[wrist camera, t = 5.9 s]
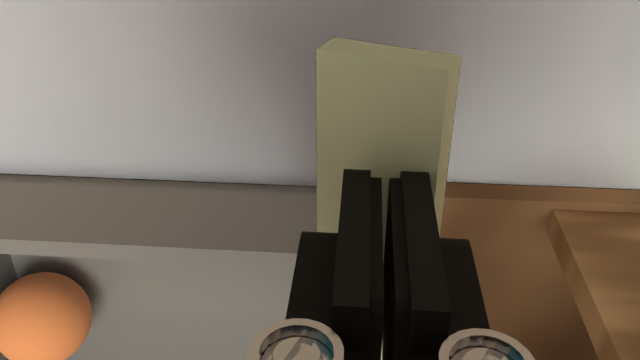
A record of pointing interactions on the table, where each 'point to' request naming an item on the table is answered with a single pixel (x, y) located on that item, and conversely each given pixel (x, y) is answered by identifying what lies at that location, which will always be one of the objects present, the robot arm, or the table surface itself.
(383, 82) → the lever
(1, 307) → the ball
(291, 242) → the dish
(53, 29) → the table surface
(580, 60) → the table surface
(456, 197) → the stand
